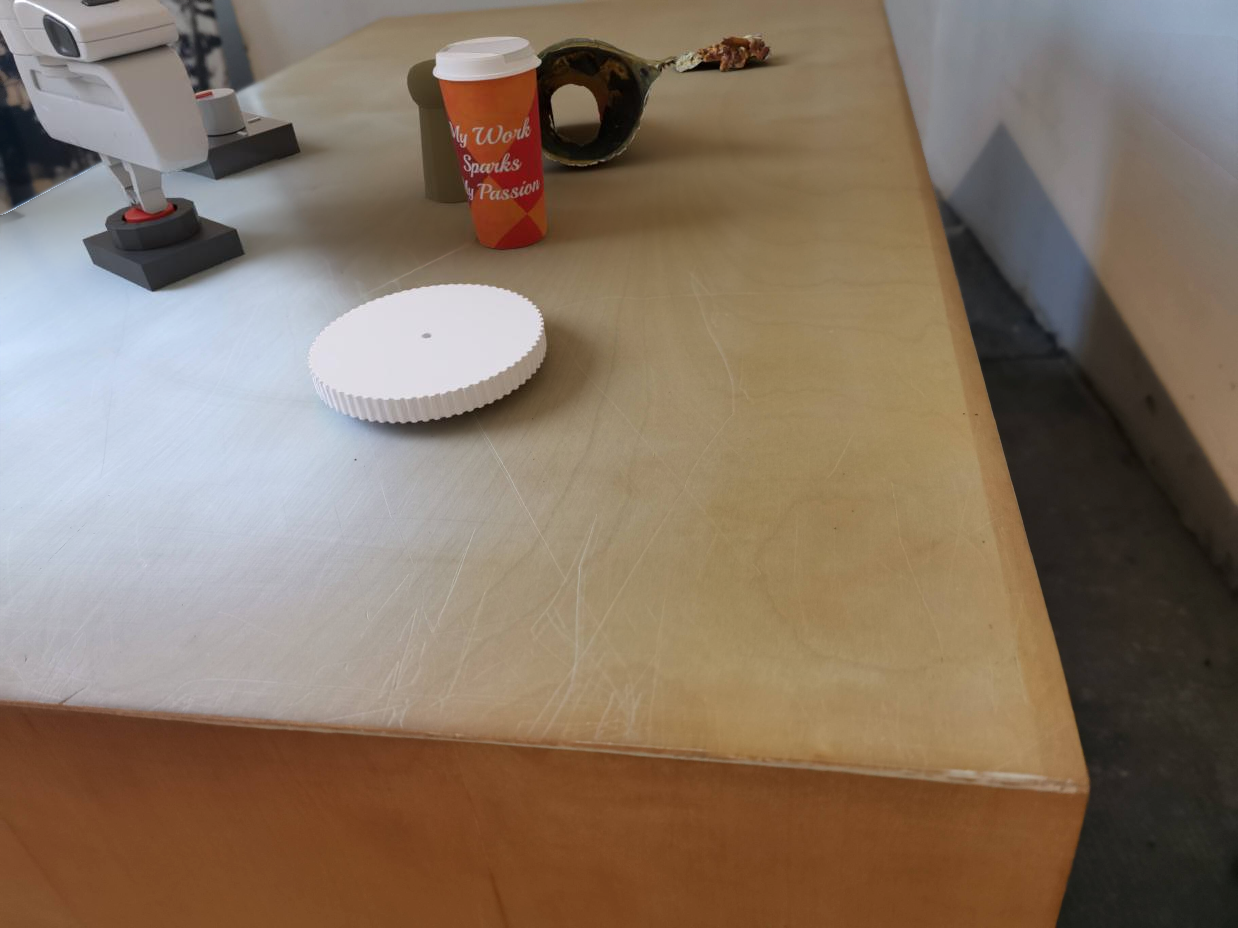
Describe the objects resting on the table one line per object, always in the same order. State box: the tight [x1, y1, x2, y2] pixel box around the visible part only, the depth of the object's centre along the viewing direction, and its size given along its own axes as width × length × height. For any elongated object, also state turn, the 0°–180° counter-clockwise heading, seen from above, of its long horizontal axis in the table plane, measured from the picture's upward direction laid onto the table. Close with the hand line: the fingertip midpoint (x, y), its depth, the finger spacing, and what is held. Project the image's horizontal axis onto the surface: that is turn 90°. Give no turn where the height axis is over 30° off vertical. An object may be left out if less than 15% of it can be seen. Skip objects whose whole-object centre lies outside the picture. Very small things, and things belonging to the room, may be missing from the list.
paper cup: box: [433, 36, 547, 250], centre depth 65 cm, size 8×8×14 cm
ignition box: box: [81, 197, 246, 293], centre depth 69 cm, size 10×8×4 cm
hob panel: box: [181, 111, 301, 181], centre depth 91 cm, size 10×10×3 cm
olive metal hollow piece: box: [536, 37, 679, 167], centre depth 84 cm, size 17×11×18 cm
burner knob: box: [194, 87, 245, 135], centre depth 89 cm, size 4×4×4 cm
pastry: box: [674, 33, 772, 73], centre depth 108 cm, size 7×12×4 cm, turn 98°
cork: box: [406, 58, 468, 204], centre depth 76 cm, size 6×6×11 cm
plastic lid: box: [306, 283, 548, 424], centre depth 52 cm, size 14×14×2 cm
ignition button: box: [125, 202, 175, 223], centre depth 69 cm, size 4×4×2 cm
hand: (150, 209), depth 68 cm, fingers closed, pressing on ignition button
